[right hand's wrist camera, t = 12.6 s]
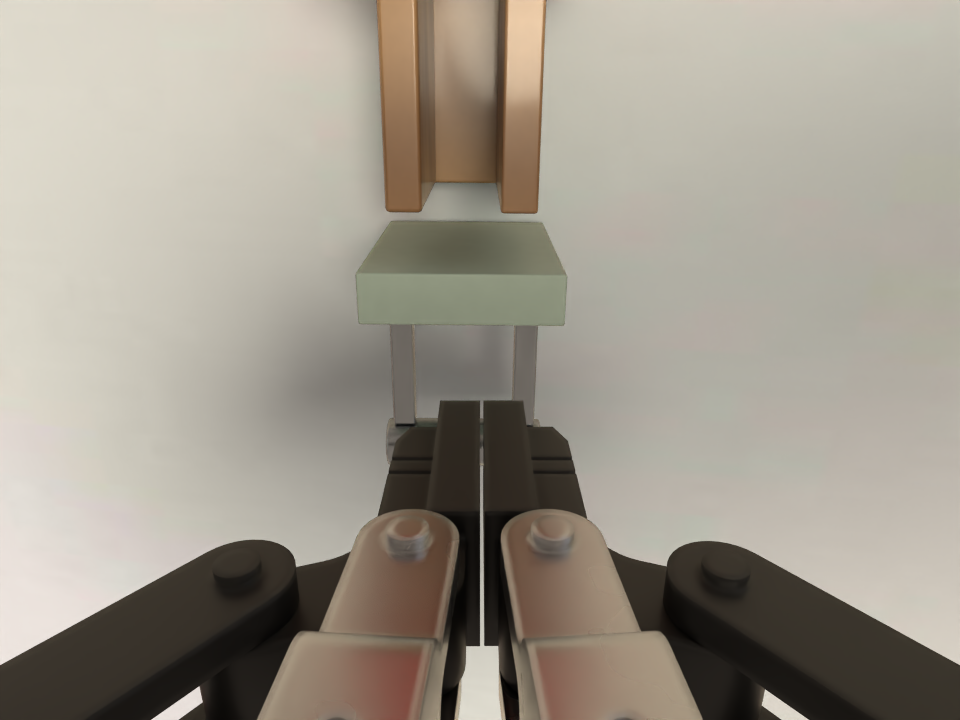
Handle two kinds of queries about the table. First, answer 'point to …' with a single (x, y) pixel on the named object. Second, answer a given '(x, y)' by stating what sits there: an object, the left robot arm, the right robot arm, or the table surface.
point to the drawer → (461, 159)
